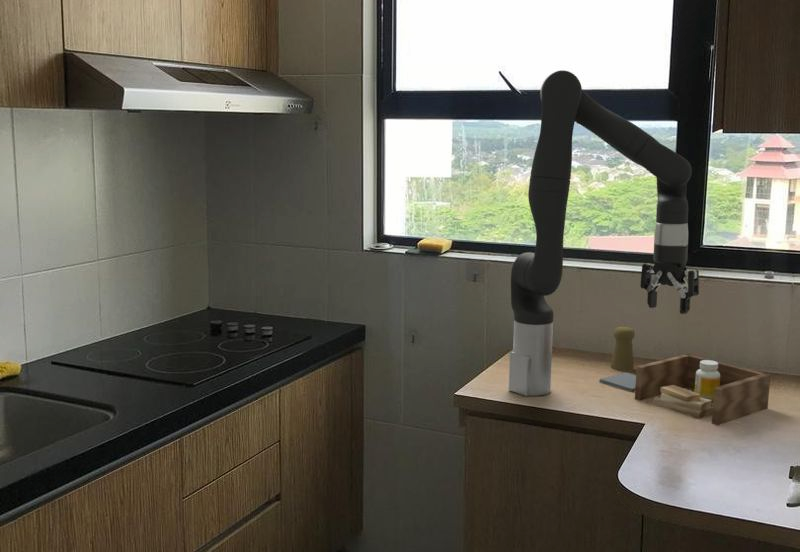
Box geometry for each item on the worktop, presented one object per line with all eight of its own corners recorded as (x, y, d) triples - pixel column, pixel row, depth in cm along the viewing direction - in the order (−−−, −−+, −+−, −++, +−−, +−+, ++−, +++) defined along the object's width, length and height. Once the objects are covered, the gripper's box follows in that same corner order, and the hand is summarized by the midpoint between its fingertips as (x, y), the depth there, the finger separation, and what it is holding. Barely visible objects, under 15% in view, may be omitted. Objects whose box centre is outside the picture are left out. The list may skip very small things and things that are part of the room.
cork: (636, 371, 230) (639, 330, 228) (613, 371, 230) (615, 329, 228) (631, 365, 236) (633, 324, 234) (608, 364, 236) (610, 324, 234)
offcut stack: (698, 418, 194) (699, 400, 193) (652, 404, 203) (654, 387, 203) (713, 413, 197) (714, 395, 197) (668, 400, 207) (669, 382, 206)
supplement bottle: (688, 400, 207) (691, 360, 205) (706, 397, 209) (708, 358, 207) (705, 407, 202) (708, 366, 200) (723, 404, 204) (726, 363, 203)
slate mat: (631, 392, 213) (632, 388, 212) (599, 382, 220) (599, 378, 220) (657, 384, 219) (657, 381, 218) (625, 375, 226) (625, 372, 226)
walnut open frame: (717, 425, 190) (720, 389, 188) (634, 399, 207) (636, 366, 206) (767, 408, 201) (770, 374, 200) (685, 385, 219) (687, 353, 217)
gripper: (635, 240, 208) (633, 307, 211) (688, 247, 197) (685, 318, 200) (654, 237, 213) (652, 303, 215) (707, 243, 202) (704, 313, 205)
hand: (668, 310), depth 208 cm, fingers open, 8 cm apart
